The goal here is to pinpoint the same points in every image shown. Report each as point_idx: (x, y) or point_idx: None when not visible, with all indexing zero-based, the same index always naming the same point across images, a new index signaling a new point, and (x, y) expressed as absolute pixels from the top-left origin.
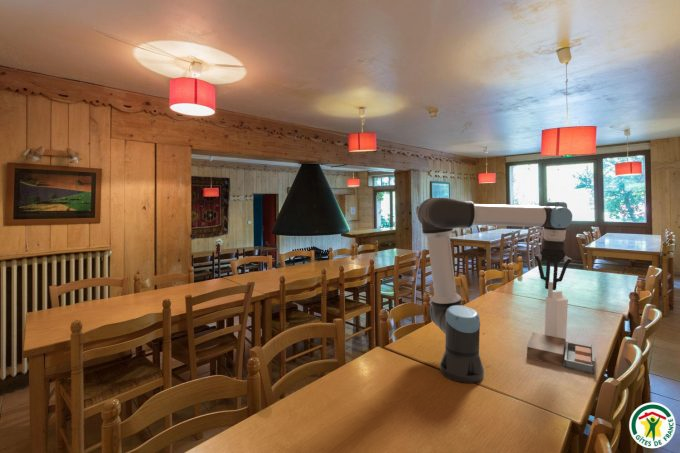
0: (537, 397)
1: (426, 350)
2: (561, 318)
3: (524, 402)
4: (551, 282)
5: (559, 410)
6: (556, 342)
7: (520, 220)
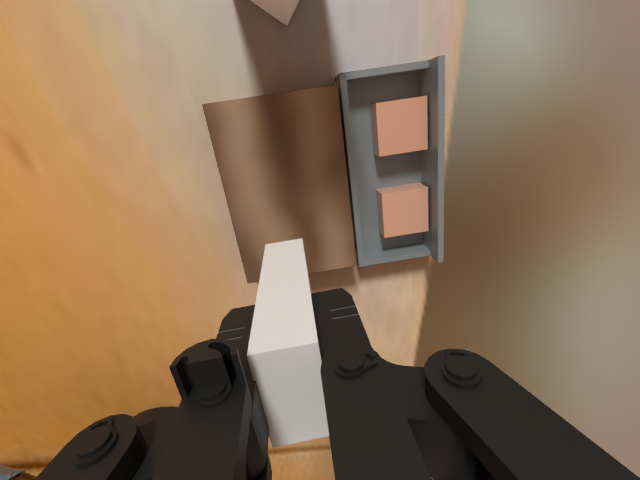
0: None
1: (23, 413)
2: None
3: (319, 451)
4: (312, 434)
5: None
6: (317, 163)
7: None
